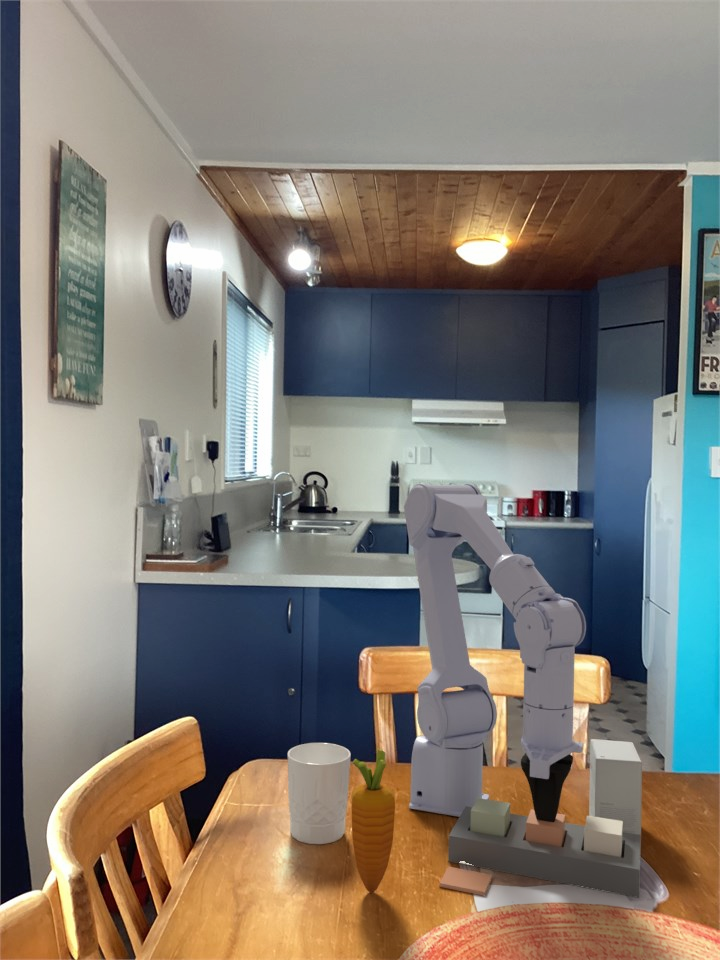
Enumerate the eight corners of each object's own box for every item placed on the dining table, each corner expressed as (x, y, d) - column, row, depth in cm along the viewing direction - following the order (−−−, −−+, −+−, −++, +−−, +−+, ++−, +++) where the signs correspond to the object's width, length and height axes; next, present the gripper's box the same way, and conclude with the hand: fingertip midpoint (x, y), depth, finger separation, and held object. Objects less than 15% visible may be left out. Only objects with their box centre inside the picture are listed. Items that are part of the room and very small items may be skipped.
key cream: (583, 860, 90) (584, 829, 90) (586, 845, 94) (587, 815, 94) (620, 866, 88) (621, 835, 88) (622, 851, 92) (622, 821, 92)
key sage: (470, 839, 94) (470, 810, 94) (477, 826, 98) (477, 797, 98) (503, 845, 93) (504, 816, 93) (509, 831, 97) (510, 803, 97)
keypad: (448, 861, 93) (448, 835, 93) (465, 829, 101) (465, 806, 101) (639, 897, 85) (639, 869, 85) (640, 860, 94) (640, 835, 94)
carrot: (359, 908, 82) (362, 763, 82) (341, 885, 87) (343, 748, 87) (402, 899, 84) (405, 757, 84) (382, 877, 89) (385, 743, 89)
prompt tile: (439, 886, 87) (439, 882, 87) (448, 869, 91) (448, 866, 91) (484, 895, 85) (485, 892, 85) (492, 878, 89) (492, 874, 89)
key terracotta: (525, 852, 92) (526, 822, 92) (530, 838, 96) (530, 809, 96) (560, 859, 91) (561, 828, 91) (564, 844, 94) (565, 814, 94)
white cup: (359, 827, 101) (360, 748, 101) (331, 852, 94) (333, 768, 94) (305, 814, 105) (306, 738, 105) (274, 838, 98) (275, 757, 98)
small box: (641, 848, 97) (643, 762, 97) (593, 843, 98) (595, 758, 98) (632, 820, 105) (634, 741, 105) (588, 816, 106) (590, 737, 106)
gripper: (578, 724, 85) (575, 851, 85) (588, 691, 99) (586, 801, 99) (511, 716, 88) (509, 840, 88) (530, 685, 101) (528, 792, 101)
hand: (546, 818), depth 93 cm, fingers closed, pressing on key terracotta
